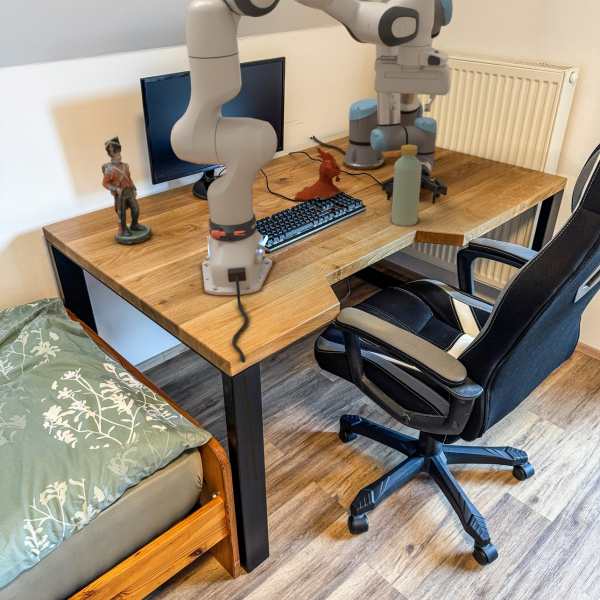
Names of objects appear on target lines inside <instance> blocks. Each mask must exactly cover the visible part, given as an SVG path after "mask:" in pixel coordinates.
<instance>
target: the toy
mask: <svg viewBox="0 0 600 600" xmlns="http://www.w3.org/2000/svg"><path fill="white" fill-rule="evenodd" d="M315 149H316V151H317V153H318V154H317V155H316V157H317V158H321V159H322V162H321V163H320V164H319V168H318V174H319V176H318V180H317V181H315V183H313V184H312V185H310V186H305V187H304V188H303V189H302V191H299V192H296V195H295V196H294V200H296V201H304V202H309V201H308V200H311V199H314V198H316V197H318V196H321V197H323V198H327V197H329V196H330V195H333V194H338V193H339V187H338V186H336V185H335V184H334V182H333V179H334V178H335V183H340V182H341V178H340V177H339V176H340V175H341V173H342V169H341V164H340V163H339V162H338V161H337V160H336V158H335V157H334V155H333V154H331V153H330V152H325V151H324V150H322V149H321V147H315ZM311 201H312V200H311Z"/></svg>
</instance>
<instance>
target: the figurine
mask: <svg viewBox="0 0 600 600" xmlns="http://www.w3.org/2000/svg"><path fill="white" fill-rule="evenodd" d="M104 149H105V151H106V153H107V156H108V157H109V158H110V161H108V162H105V163H103V164H102V165H101V172H102V174H103V177H102V182H101V185H102V187H103V188H105V190H108V191H110V195H111V196H113V201H114V202H113V204H114V206H113V207H114V209H113V210H114V212H115V213H116V214H117V218H116V222H117V224H118V230H117V231H116V233H115V234H114V237H115V240H116V241H117V242H118V243H121V244H128V245H130V244H133V243H135V244H137V243H142V242H144V241H147V240H149V239H150V238H151V236H152V228H151V227H150V226H149V225H147V224H141V223H139V218H140V213H141V212H140V211H141V210H140V206H139V203H138V200H137V199H136V198H137V196H138V192H137V190H138V189H137V187H136V185H135V184H134V181H133V179H132V177H131V172H130V166H129V163H128V162H123V161H122V155H121V152H122V145H121V142H120V140H119V136H118V134H115V135H114V136H113V137H112V138H111V139H108V140H107V141H106V142H104ZM128 210H130V218H131V222H130V224H129V226H128V224H127V211H128Z"/></svg>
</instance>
